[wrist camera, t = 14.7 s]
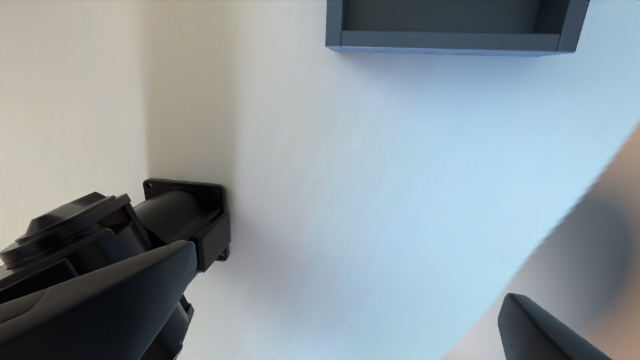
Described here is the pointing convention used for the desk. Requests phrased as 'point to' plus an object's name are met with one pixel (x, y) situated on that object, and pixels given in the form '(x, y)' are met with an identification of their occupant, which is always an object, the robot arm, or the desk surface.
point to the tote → (456, 26)
